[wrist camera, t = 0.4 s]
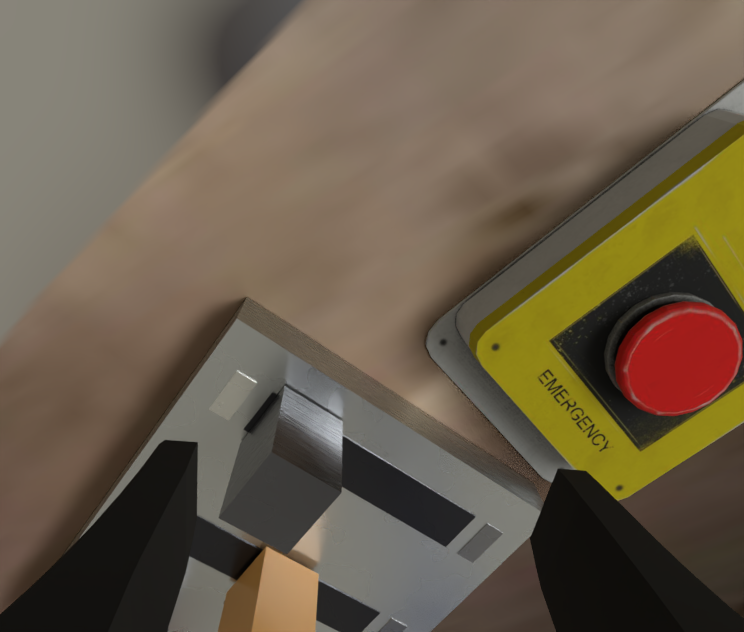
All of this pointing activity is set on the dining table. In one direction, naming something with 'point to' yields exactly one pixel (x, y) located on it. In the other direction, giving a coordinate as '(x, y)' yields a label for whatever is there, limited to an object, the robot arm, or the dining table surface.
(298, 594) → the breaker
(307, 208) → the dining table surface
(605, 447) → the emergency button
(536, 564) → the robot arm
